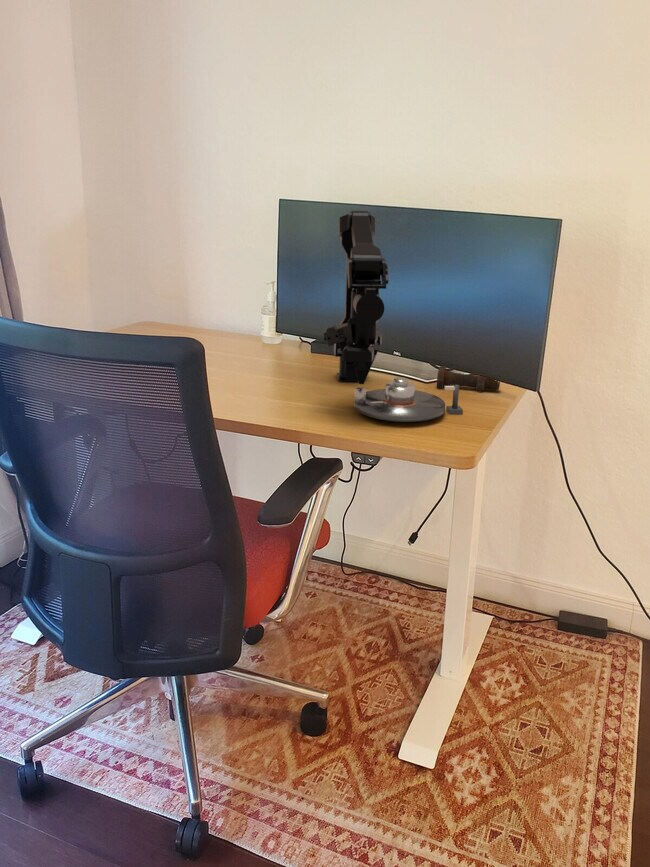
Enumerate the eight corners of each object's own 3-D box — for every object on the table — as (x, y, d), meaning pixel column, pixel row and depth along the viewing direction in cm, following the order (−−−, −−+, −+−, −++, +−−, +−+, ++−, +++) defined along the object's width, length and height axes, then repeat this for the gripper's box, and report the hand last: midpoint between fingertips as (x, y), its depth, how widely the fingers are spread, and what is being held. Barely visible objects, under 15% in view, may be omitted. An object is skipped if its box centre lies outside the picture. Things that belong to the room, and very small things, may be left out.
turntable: (428, 391, 177) (429, 373, 176) (458, 419, 159) (459, 399, 158) (344, 395, 174) (345, 376, 172) (365, 423, 155) (366, 403, 154)
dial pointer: (441, 410, 169) (443, 383, 167) (459, 410, 169) (461, 383, 167) (444, 414, 166) (446, 387, 164) (462, 414, 167) (465, 387, 164)
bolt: (497, 400, 183) (436, 392, 187) (499, 385, 187) (439, 378, 190) (499, 383, 179) (436, 375, 182) (502, 368, 182) (440, 361, 185)
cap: (378, 400, 166) (380, 378, 164) (398, 395, 170) (399, 373, 168) (400, 407, 162) (402, 385, 160) (420, 401, 166) (421, 380, 164)
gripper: (334, 303, 169) (332, 370, 175) (318, 319, 152) (317, 393, 158) (383, 305, 168) (380, 373, 173) (373, 322, 150) (369, 397, 156)
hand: (361, 383), depth 165 cm, fingers closed
